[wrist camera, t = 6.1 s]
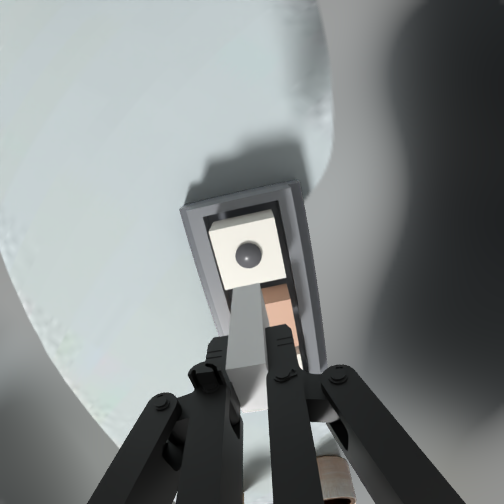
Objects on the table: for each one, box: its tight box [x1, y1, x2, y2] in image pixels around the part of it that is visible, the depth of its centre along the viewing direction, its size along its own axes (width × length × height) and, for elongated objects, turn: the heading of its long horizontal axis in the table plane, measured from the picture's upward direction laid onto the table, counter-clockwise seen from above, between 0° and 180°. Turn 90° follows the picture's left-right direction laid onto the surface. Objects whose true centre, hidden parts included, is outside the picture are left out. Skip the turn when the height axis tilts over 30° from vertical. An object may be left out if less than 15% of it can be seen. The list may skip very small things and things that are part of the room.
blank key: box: [261, 283, 299, 346], centre depth 27 cm, size 5×5×3 cm
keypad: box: [179, 180, 327, 374], centre depth 30 cm, size 22×11×4 cm, turn 13°
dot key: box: [209, 209, 286, 290], centre depth 25 cm, size 5×5×3 cm
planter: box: [316, 456, 356, 504], centre depth 41 cm, size 11×11×10 cm
